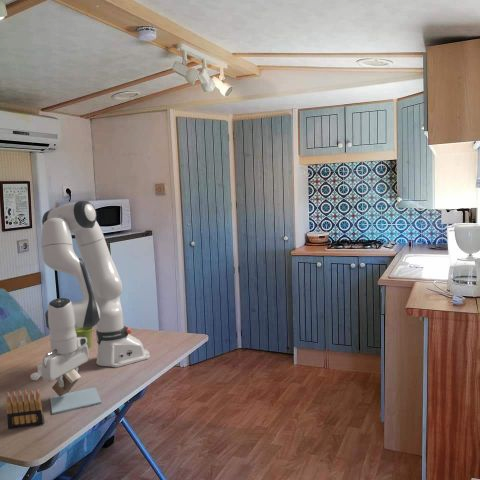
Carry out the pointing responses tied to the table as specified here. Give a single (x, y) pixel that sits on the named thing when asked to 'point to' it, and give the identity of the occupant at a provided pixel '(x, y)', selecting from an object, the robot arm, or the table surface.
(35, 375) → the game pieces
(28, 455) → the table surface
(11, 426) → the ammunition clip
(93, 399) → the blue-grey mat
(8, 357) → the table surface
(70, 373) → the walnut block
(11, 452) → the table surface
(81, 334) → the plant pot
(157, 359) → the table surface
